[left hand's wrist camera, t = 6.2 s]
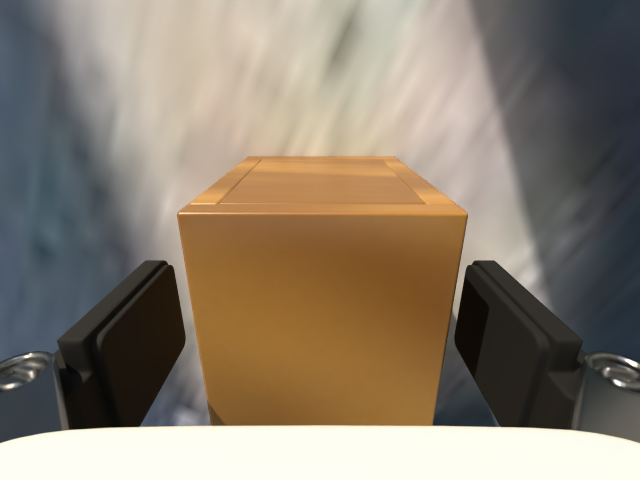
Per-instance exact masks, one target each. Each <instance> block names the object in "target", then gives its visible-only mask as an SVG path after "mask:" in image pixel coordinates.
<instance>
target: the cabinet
mask: <svg viewBox="0 0 640 480" xmlns="http://www.w3.org/2000/svg"><path fill="white" fill-rule="evenodd" d="M177 218H178V224H179V230H180V236H181V242H182V248H183V255H184V261H185V267H186V273H187V279H188V285H189V291H190V298H191V304H192V310H193V316H194V322H195V328H196V335H197V341H198V347H199V353H200V359H201V365H202V371H203V378H204V384H205V390H206V396H207V402H208V408H209V414H210V421H211V426H302V425H338V426H433V420H434V414H435V408H436V402H437V396H438V390H439V384H440V378H441V372H442V367H443V361H444V355H445V349H446V343H447V337H448V331H449V325H450V319H451V313H452V307H453V301H454V295H455V289H456V283H457V277H458V272H459V266H460V260H461V254H462V248H463V242H464V236H465V230H466V224H467V218H468V214H467V212H466V211H465V210H463V209H462V208H461V207H459V206H458V205H456V203H454V202H453V201H452V200H451V199H449V198H448V197H447V196H445V195H444V194H443V193H441V192H440V191H439V190H438V189H436V188H435V187H434V186H432V185H431V184H430V183H428V182H427V181H426V180H424V179H423V178H422V177H421V176H419V175H418V174H417V173H415V172H414V171H413V170H411V169H410V168H409V167H408V166H406V165H405V164H404V163H402V162H401V161H400V160H398V159H397V158H396V157H247V158H246V159H245V160H244V161H243V162H241V163H240V164H239V165H237V166H236V167H235V168H234V169H232V170H231V171H230V172H229V173H227V174H226V175H225V176H224V177H222V178H221V179H220V180H218V181H217V182H216V183H215V184H213V185H212V186H211V187H210V188H208V189H207V190H206V191H204V192H203V193H202V194H201V195H199V196H198V197H197V198H196V199H194V200H193V201H192V202H190V204H189V205H187V206H185V207H184V208H183V209H181V210H180V211H179V212H178V214H177Z"/></svg>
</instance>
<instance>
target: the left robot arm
mask: <svg viewBox="0 0 640 480" xmlns="http://www.w3.org/2000/svg"><path fill="white" fill-rule="evenodd" d="M185 338H186V337H185V330H184V324H183V319H182V313H181V307H180V301H179V296H178V290H177V284H176V278H175V273H174V268H173V266H172V265H168V263H167V262H166V261H145V262H143V263H142V264H141V265H140V266H139V267H138V268H137V269H136V270H135V271H133V272H132V273H131V274H130V275H129V276H128V277H127V278H126V279H125V280H123V281H122V282H121V283H120V284H119V285H118V286H117V287H116V288H115V289H114V290H112V291H111V292H110V293H109V294H108V295H107V296H106V297H105V298H104V299H102V300H101V301H100V302H99V303H98V304H97V305H96V306H95V307H94V308H92V309H91V310H90V311H89V312H88V313H87V314H86V315H85V316H84V317H83V318H81V319H80V320H79V321H78V322H77V323H76V324H75V325H74V326H73V327H71V328H70V329H69V330H68V331H67V332H66V333H65V334H64V335H63V336H62V337H60V338H59V339H58V340H57V342H58V345H59V348H60V349H58V350H57V351H56V352H55V353H54V354H51V353H49V352H44V351H35V352H28V353H24V354H20V355H16V356H13V357H11V358H8V359H6V360H3V361H1V362H0V480H640V362H639V361H637V360H634V359H632V358H629V357H627V356H624V355H620V354H616V353H612V352H605V351H596V352H591V353H589V354H586V353H585V352H584V351H583V350H582V349H580V348H581V345H582V342H583V340H582V339H581V338H580V337H578V336H577V335H576V334H575V333H574V332H573V331H572V330H571V329H570V328H568V327H567V326H566V325H565V324H564V323H563V322H562V321H561V320H560V319H559V318H557V317H556V316H555V315H554V314H553V313H552V312H551V311H550V310H549V309H547V308H546V307H545V306H544V305H543V304H542V303H541V302H540V301H539V300H538V299H536V298H535V297H534V296H533V295H532V294H531V293H530V292H529V291H528V290H526V289H525V288H524V287H523V286H522V285H521V284H520V283H519V282H518V281H517V280H515V279H514V278H513V277H512V276H511V275H510V274H509V273H508V272H507V271H505V270H504V269H503V268H502V267H501V266H500V265H499V264H498V263H497V262H495V261H474V262H473V263H472V265H468V266H467V268H466V272H465V278H464V284H463V290H462V295H461V301H460V307H459V313H458V319H457V324H456V330H455V337H454V339H455V345H456V348H457V350H458V351H459V353H460V355H461V357H462V359H463V360H464V362H465V364H466V366H467V367H468V369H469V371H470V373H471V375H472V376H473V378H474V380H475V382H476V384H477V385H478V387H479V389H480V391H481V393H482V394H483V396H484V398H485V400H486V402H487V403H488V405H489V407H490V409H491V411H492V412H493V414H494V416H495V418H496V420H497V421H498V423H499V425H500V427H467V426H338V425H302V426H173V427H140V425H141V423H142V421H143V419H144V418H145V416H146V414H147V412H148V411H149V409H150V407H151V405H152V403H153V402H154V400H155V398H156V396H157V394H158V393H159V391H160V389H161V387H162V385H163V384H164V382H165V380H166V378H167V376H168V375H169V373H170V371H171V369H172V367H173V366H174V364H175V362H176V360H177V358H178V357H179V355H180V353H181V351H182V350H183V348H184V345H185Z"/></svg>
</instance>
